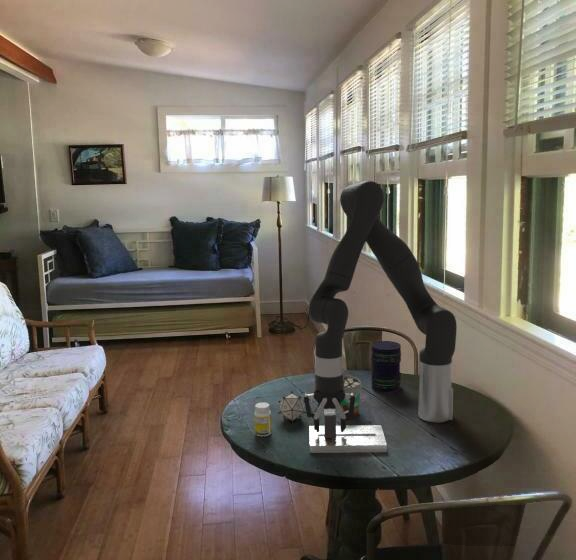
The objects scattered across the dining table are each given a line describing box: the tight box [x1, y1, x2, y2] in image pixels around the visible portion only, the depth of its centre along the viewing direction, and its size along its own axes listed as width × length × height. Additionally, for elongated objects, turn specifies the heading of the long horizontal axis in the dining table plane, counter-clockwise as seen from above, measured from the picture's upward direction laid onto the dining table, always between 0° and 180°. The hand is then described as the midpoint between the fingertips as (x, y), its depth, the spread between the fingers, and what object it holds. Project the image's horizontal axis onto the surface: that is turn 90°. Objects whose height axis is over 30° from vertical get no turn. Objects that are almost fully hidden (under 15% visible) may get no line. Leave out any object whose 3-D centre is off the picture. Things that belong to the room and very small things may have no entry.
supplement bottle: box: [253, 402, 273, 437], centre depth 162 cm, size 5×5×8 cm
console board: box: [308, 424, 388, 454], centre depth 156 cm, size 20×12×2 cm, turn 88°
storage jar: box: [370, 340, 402, 394], centre depth 194 cm, size 10×10×15 cm
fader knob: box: [323, 408, 337, 438], centre depth 155 cm, size 3×5×6 cm, turn 178°
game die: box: [277, 390, 307, 424], centre depth 171 cm, size 9×8×10 cm
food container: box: [341, 374, 363, 420], centre depth 174 cm, size 12×6×10 cm, turn 168°
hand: (329, 430), depth 156 cm, fingers open, 6 cm apart
